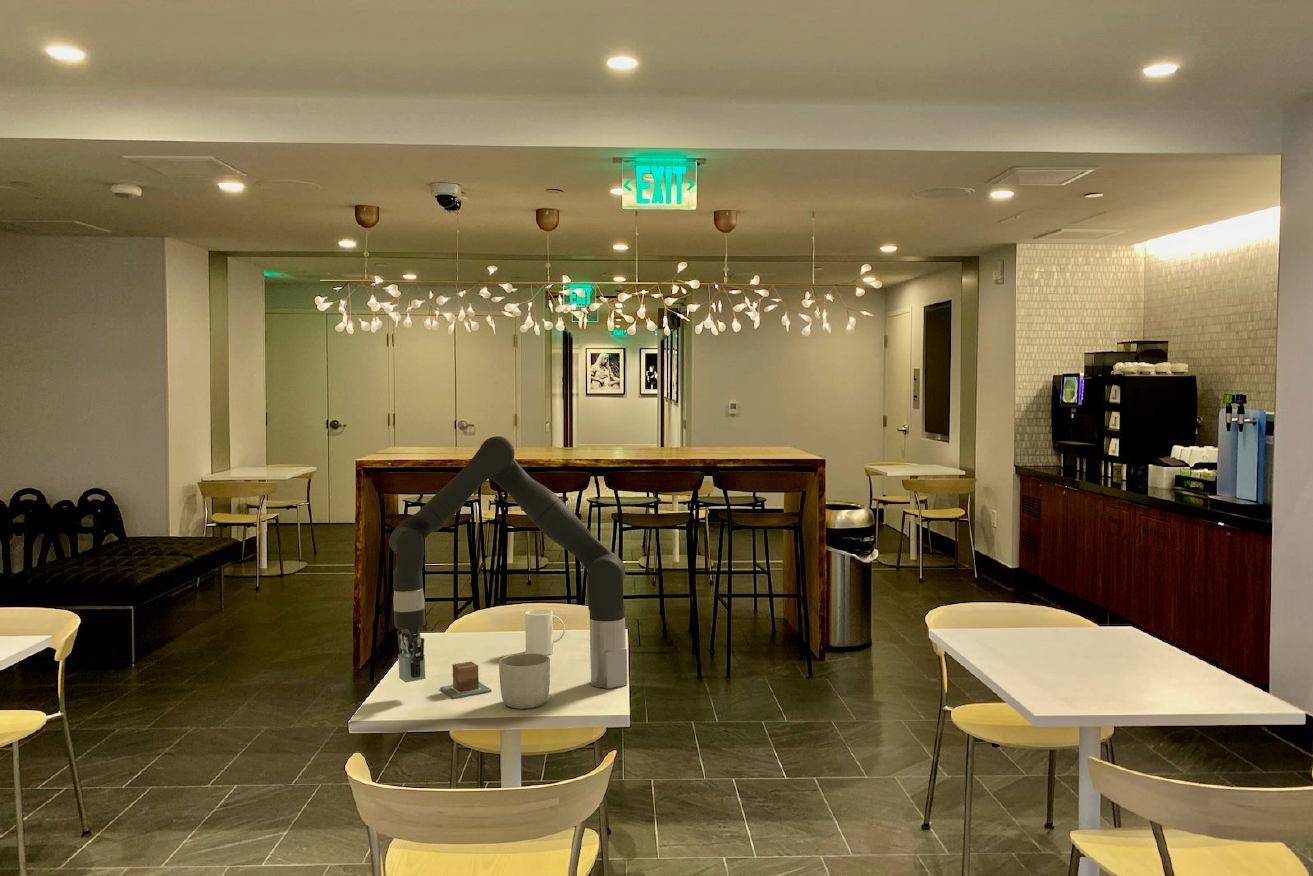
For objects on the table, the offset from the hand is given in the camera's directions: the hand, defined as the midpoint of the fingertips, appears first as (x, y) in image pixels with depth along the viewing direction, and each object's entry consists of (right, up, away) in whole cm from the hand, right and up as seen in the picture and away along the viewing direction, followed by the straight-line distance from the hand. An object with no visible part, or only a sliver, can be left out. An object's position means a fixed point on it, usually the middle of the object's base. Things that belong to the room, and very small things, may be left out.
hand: (412, 674), depth 237 cm
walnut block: (+12, -5, +6) cm, 15 cm away
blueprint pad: (+12, -6, +6) cm, 15 cm away
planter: (+29, -6, -6) cm, 30 cm away
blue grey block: (0, -1, 0) cm, 1 cm away
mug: (+28, -4, +42) cm, 51 cm away
